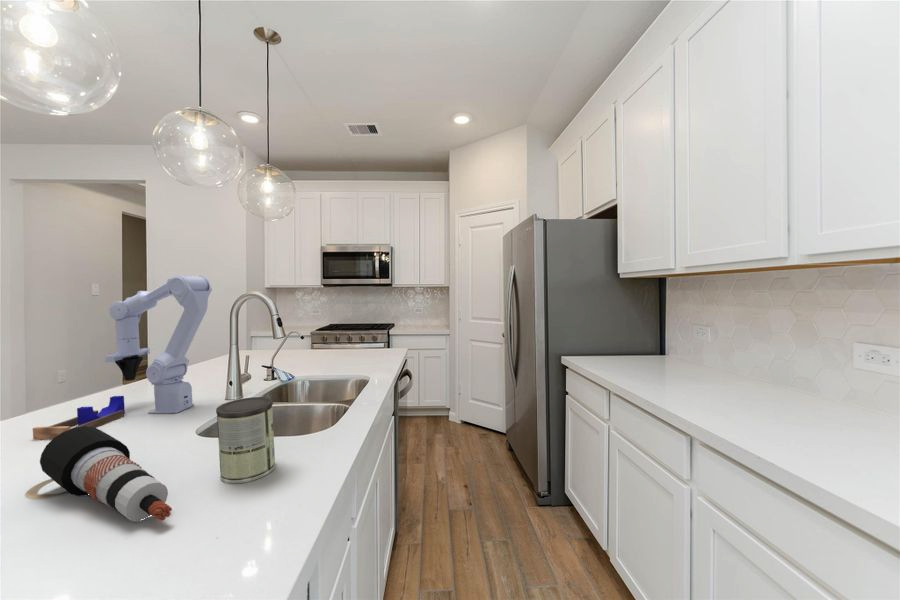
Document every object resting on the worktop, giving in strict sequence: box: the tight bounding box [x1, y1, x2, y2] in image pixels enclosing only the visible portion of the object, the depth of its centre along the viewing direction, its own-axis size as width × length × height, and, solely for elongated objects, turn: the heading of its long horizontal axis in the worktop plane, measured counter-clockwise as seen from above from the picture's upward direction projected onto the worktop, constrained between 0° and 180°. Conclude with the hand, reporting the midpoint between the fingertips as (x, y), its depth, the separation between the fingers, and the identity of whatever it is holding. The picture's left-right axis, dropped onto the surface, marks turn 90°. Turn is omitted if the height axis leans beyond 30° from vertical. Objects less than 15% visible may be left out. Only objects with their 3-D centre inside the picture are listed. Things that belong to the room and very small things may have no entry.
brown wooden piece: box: [32, 410, 125, 441], centre depth 109 cm, size 9×17×3 cm, turn 178°
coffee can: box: [215, 396, 277, 485], centre depth 79 cm, size 10×10×14 cm
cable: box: [39, 426, 172, 523], centre depth 69 cm, size 10×34×10 cm, turn 61°
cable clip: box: [76, 395, 126, 426], centre depth 113 cm, size 12×4×6 cm, turn 0°
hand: (130, 380), depth 125 cm, fingers closed
